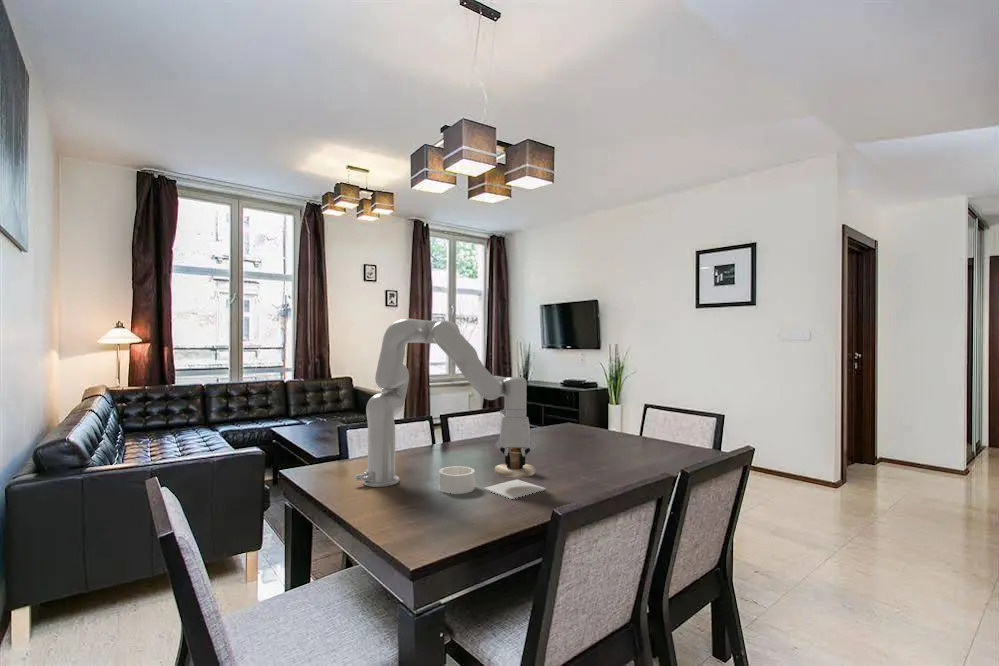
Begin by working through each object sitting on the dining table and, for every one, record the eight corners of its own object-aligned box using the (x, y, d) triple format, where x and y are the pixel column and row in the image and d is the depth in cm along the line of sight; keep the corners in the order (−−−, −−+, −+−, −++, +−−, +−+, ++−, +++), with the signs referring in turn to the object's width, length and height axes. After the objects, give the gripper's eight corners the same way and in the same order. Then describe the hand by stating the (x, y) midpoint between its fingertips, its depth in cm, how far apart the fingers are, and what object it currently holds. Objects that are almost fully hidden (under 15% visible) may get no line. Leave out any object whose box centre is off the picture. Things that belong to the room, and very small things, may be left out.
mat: (511, 499, 160) (511, 497, 160) (483, 489, 171) (483, 487, 171) (545, 489, 171) (545, 488, 171) (516, 480, 182) (516, 479, 182)
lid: (514, 479, 161) (514, 460, 161) (486, 471, 171) (486, 453, 171) (544, 472, 171) (544, 453, 171) (515, 464, 181) (515, 447, 181)
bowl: (453, 496, 163) (453, 477, 163) (432, 487, 172) (432, 470, 172) (481, 488, 171) (481, 471, 172) (459, 481, 180) (459, 464, 180)
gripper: (489, 414, 169) (489, 469, 168) (539, 415, 166) (539, 471, 166) (492, 411, 176) (492, 463, 176) (540, 412, 174) (540, 465, 174)
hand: (515, 466), depth 171 cm, fingers closed on lid, 4 cm apart
